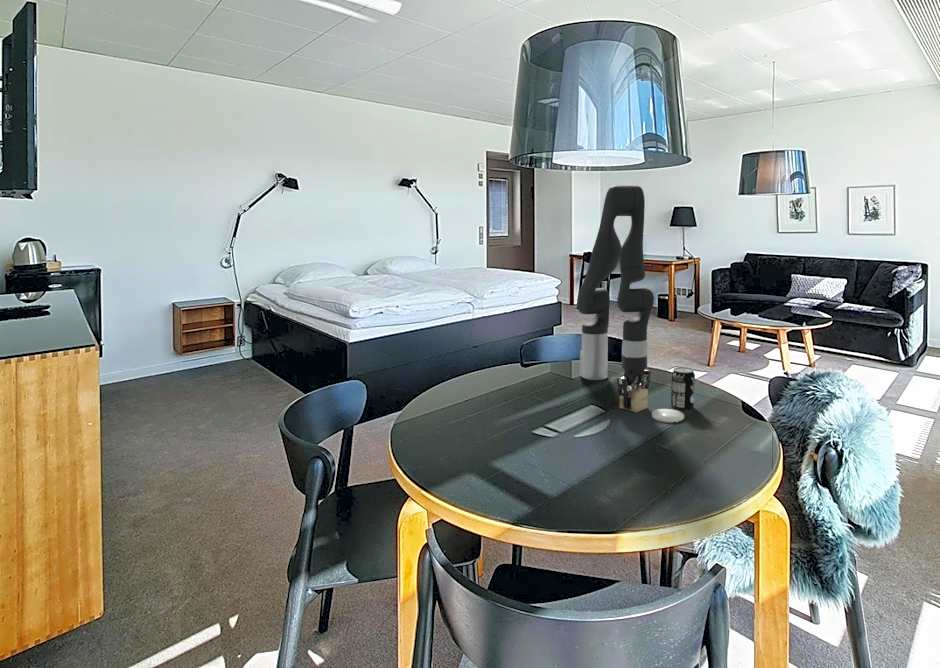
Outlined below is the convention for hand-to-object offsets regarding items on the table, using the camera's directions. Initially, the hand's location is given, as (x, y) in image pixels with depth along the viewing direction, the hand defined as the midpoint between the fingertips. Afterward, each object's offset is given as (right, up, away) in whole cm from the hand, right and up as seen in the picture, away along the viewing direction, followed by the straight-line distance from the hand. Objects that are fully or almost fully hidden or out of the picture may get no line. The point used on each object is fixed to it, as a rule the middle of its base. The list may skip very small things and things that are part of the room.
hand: (633, 405), depth 172 cm
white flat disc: (+7, -2, -9) cm, 12 cm away
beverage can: (+15, 0, -1) cm, 15 cm away
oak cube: (0, -1, 0) cm, 1 cm away
